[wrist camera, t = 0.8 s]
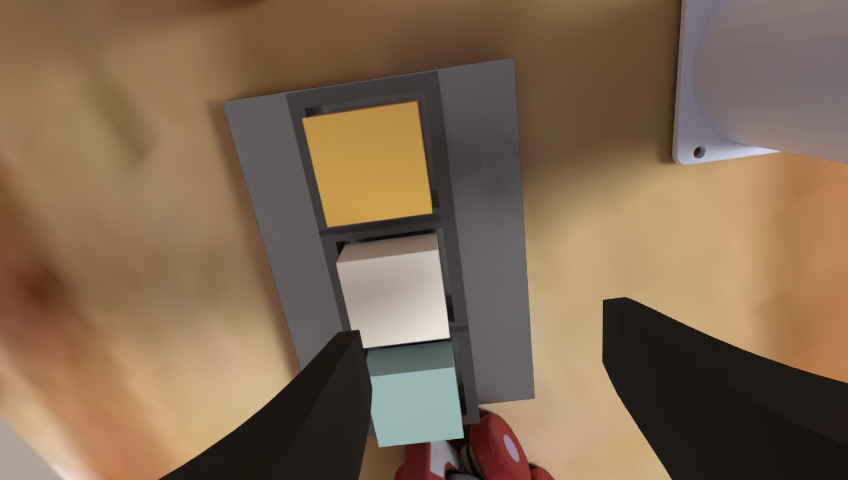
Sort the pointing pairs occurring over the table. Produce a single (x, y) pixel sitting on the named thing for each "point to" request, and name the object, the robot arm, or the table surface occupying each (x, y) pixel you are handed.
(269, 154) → the button panel
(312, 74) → the table surface
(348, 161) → the amber button
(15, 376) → the table surface
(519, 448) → the toy fire truck
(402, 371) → the teal button
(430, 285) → the cream button
